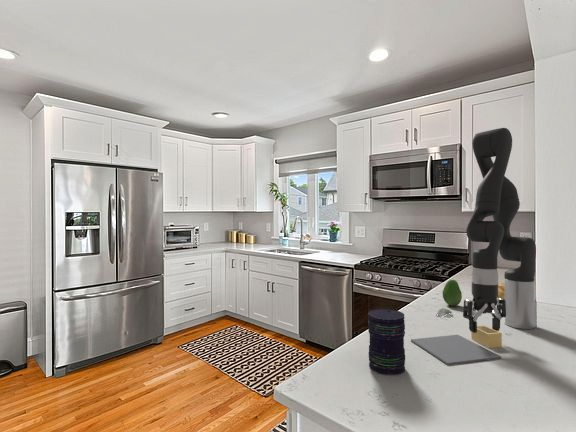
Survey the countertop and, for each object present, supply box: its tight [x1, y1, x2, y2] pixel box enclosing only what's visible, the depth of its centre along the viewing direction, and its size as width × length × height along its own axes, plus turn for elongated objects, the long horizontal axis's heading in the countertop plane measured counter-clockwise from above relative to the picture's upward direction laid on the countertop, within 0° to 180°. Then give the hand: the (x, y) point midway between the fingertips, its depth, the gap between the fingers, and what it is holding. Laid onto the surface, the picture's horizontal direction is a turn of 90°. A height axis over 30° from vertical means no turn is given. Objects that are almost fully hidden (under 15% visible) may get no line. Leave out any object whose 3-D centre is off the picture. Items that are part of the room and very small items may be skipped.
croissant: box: [496, 282, 505, 300], centre depth 166 cm, size 21×10×8 cm, turn 136°
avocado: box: [442, 279, 463, 307], centre depth 151 cm, size 8×8×12 cm
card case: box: [470, 324, 503, 349], centre depth 108 cm, size 5×8×4 cm, turn 9°
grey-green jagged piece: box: [435, 308, 454, 319], centre depth 135 cm, size 20×8×1 cm, turn 135°
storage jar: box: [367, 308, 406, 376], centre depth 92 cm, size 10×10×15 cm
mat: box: [410, 334, 502, 366], centre depth 104 cm, size 18×18×1 cm
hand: (484, 331), depth 108 cm, fingers open, 8 cm apart
